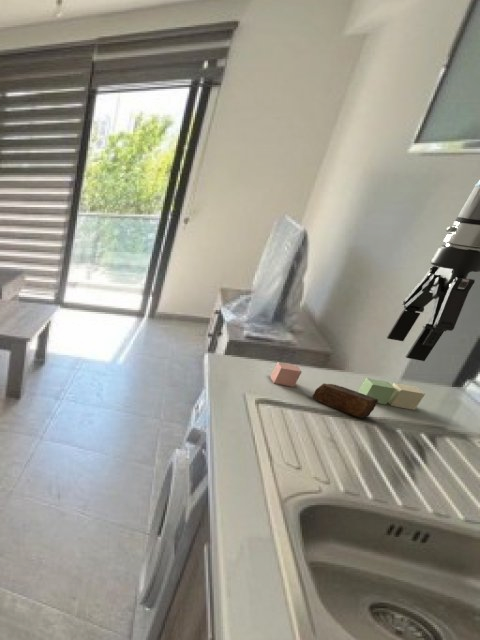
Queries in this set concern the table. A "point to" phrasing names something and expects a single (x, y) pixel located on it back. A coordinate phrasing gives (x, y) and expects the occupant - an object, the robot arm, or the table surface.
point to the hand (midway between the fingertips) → (404, 348)
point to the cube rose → (285, 374)
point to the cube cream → (405, 396)
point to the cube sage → (377, 390)
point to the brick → (345, 400)
